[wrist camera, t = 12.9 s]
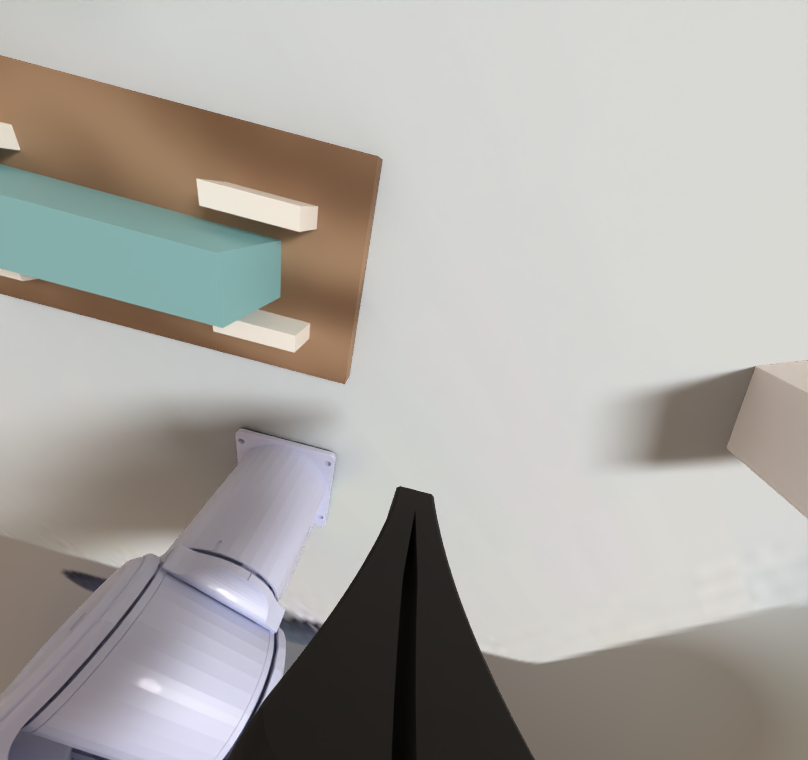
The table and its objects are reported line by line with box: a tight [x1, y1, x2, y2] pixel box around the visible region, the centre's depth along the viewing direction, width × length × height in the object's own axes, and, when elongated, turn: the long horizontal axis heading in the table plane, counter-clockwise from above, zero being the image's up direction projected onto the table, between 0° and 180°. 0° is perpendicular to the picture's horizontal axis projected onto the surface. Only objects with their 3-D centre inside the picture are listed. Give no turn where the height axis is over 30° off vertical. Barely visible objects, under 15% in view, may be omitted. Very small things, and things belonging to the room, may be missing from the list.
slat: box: [0, 164, 281, 328], centre depth 14 cm, size 3×16×5 cm, turn 77°
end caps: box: [0, 122, 318, 353], centre depth 15 cm, size 7×19×2 cm, turn 77°
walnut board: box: [0, 55, 382, 384], centre depth 16 cm, size 12×24×1 cm, turn 77°
